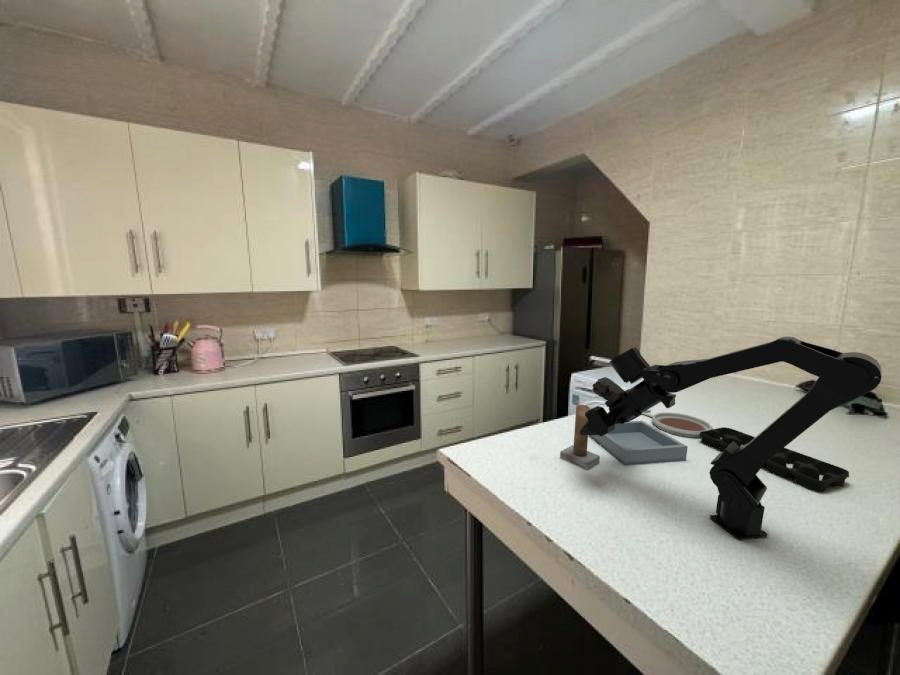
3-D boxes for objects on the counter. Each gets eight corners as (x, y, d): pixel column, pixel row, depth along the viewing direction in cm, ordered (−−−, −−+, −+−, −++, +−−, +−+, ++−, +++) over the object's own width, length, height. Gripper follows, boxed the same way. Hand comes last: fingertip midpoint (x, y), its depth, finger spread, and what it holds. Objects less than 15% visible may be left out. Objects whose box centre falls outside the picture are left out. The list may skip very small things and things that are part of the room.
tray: (685, 460, 96) (687, 446, 95) (624, 465, 93) (625, 450, 93) (641, 432, 113) (642, 420, 113) (588, 435, 111) (589, 423, 110)
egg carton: (834, 501, 79) (837, 486, 78) (687, 448, 104) (688, 435, 104) (854, 479, 88) (857, 464, 88) (715, 434, 113) (716, 423, 113)
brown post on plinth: (599, 462, 94) (603, 408, 92) (587, 470, 91) (591, 414, 88) (572, 451, 101) (575, 400, 98) (559, 458, 97) (563, 405, 94)
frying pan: (642, 400, 138) (724, 424, 114) (641, 407, 139) (723, 433, 114) (612, 407, 130) (694, 435, 106) (612, 415, 131) (693, 444, 106)
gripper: (633, 364, 91) (590, 394, 101) (596, 376, 80) (551, 409, 90) (663, 402, 87) (614, 430, 97) (628, 420, 75) (577, 450, 85)
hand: (590, 428), depth 92 cm, fingers open, 9 cm apart
